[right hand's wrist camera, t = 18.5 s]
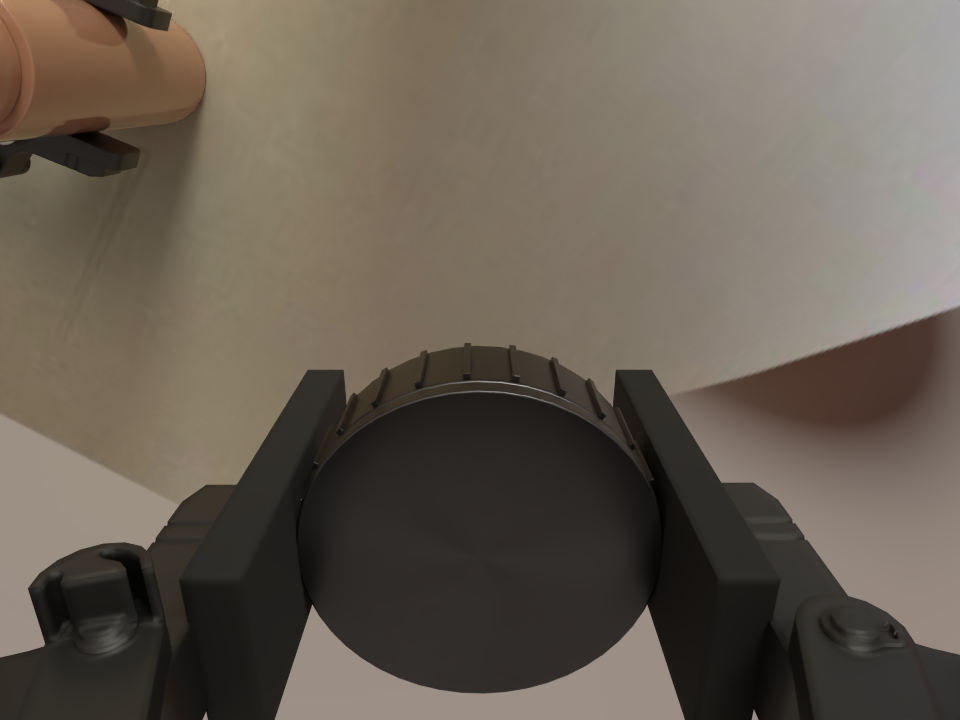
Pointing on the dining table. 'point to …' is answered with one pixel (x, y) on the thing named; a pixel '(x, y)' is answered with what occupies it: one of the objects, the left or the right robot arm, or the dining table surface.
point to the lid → (479, 522)
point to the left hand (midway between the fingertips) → (143, 92)
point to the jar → (90, 71)
